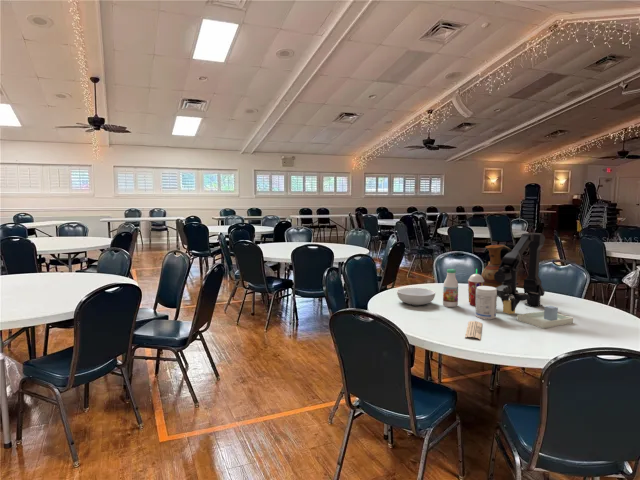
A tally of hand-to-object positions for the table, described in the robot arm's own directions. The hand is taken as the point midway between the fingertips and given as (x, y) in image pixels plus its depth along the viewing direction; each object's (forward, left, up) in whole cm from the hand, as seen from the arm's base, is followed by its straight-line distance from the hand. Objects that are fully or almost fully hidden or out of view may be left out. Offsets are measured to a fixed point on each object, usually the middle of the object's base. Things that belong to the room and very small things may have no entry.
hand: (509, 310), depth 209 cm
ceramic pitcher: (-32, -37, -2) cm, 49 cm away
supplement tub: (+17, +1, -2) cm, 17 cm away
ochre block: (0, 0, -1) cm, 1 cm away
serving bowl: (+32, -35, -2) cm, 47 cm away
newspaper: (+38, +15, -2) cm, 41 cm away
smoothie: (+4, -19, -2) cm, 19 cm away
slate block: (-7, +18, -1) cm, 19 cm away
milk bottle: (+18, -23, -2) cm, 29 cm away
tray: (-3, +18, -1) cm, 18 cm away
